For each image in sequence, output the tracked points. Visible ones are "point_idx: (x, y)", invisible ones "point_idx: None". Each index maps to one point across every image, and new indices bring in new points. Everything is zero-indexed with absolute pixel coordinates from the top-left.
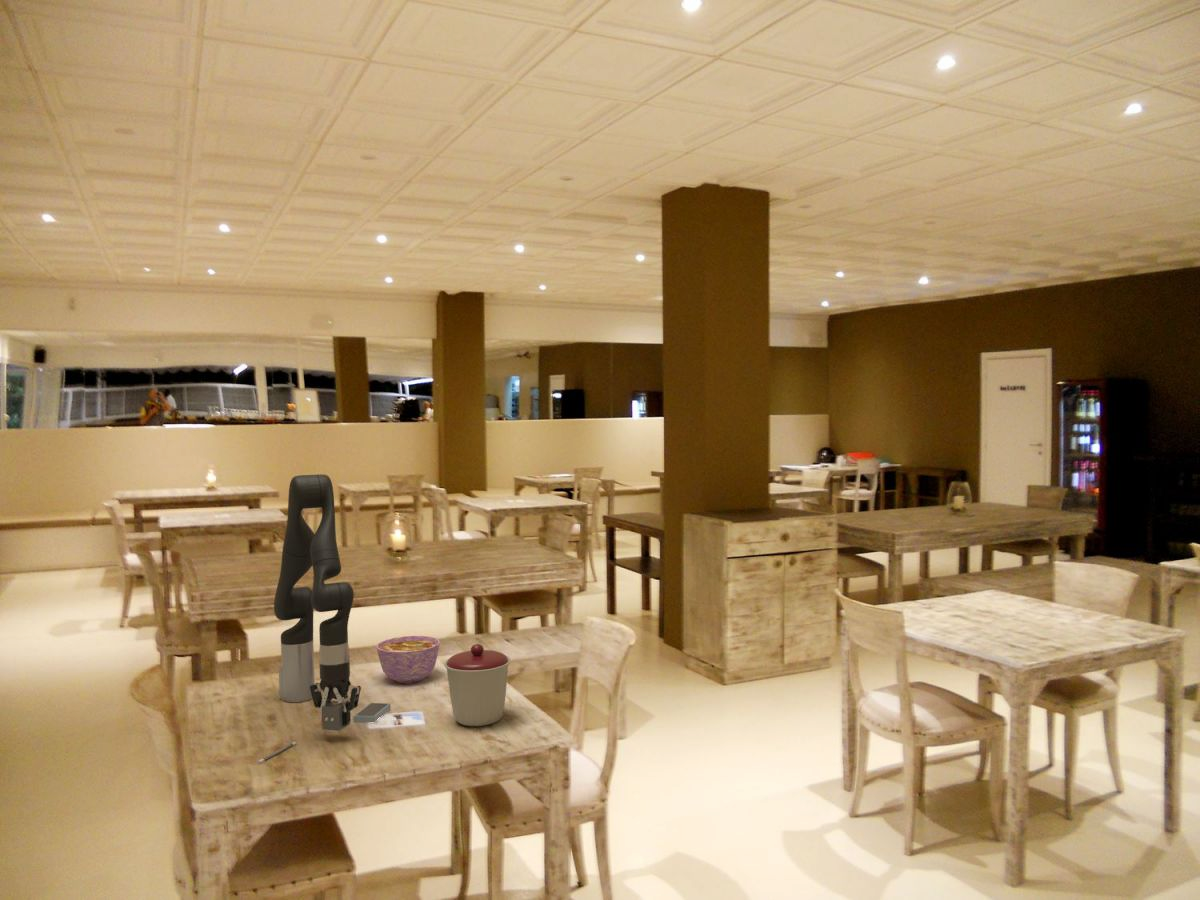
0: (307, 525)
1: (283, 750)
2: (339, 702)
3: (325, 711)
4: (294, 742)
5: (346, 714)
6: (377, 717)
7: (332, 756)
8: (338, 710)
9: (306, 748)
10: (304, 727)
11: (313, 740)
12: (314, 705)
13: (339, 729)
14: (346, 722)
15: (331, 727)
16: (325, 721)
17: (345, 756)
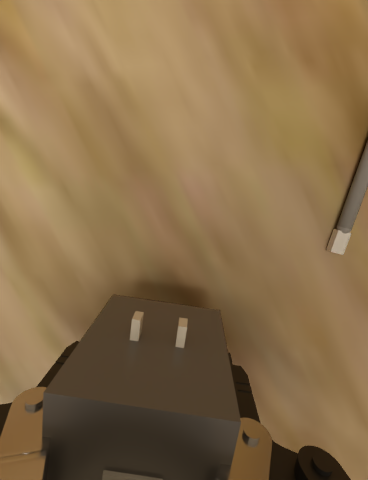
0: None
1: (360, 161)
2: (27, 464)
3: (197, 380)
4: (339, 247)
5: (47, 382)
6: None
7: (89, 119)
8: (60, 373)
9: (257, 205)
10: (364, 429)
11: (264, 298)
12: (339, 467)
13: (111, 299)
14: (75, 346)
15: (159, 308)
16: (198, 331)
17: (29, 126)
